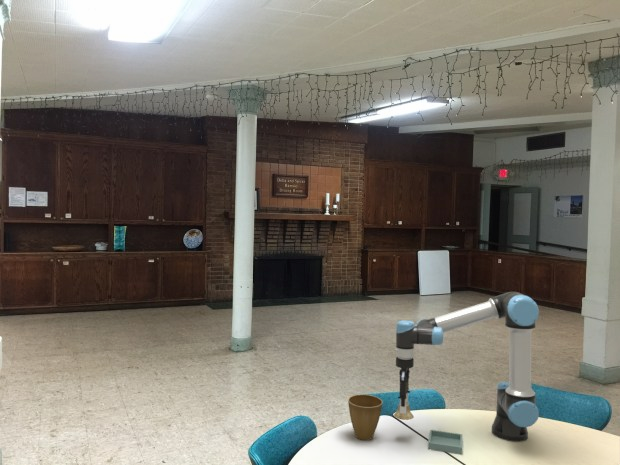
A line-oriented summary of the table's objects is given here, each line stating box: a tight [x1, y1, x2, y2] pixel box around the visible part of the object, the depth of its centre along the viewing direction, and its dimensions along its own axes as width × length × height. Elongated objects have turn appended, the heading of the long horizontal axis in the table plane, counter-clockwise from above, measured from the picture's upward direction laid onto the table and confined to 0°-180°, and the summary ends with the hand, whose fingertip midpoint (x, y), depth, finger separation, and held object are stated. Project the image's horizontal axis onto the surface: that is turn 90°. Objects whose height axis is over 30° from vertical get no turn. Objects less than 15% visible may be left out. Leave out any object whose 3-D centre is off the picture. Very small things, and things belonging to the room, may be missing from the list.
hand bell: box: [393, 384, 414, 421], centre depth 219 cm, size 8×8×16 cm
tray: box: [427, 429, 463, 455], centre depth 216 cm, size 14×14×3 cm
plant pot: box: [347, 393, 384, 441], centre depth 222 cm, size 15×15×16 cm
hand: (403, 410), depth 220 cm, fingers closed on hand bell, 6 cm apart
